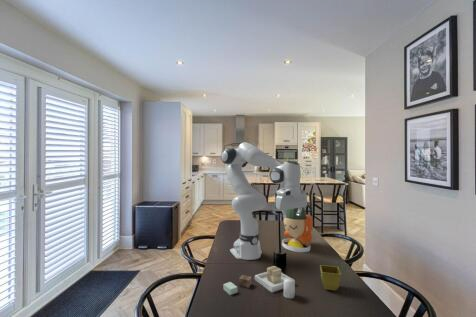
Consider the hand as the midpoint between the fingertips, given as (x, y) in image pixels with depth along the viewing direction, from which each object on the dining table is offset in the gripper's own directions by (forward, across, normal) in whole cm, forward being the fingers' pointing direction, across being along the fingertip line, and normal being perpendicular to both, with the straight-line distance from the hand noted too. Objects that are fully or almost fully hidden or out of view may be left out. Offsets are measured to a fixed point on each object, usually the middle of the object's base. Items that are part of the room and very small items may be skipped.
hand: (292, 216), depth 135 cm
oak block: (+30, +14, +2) cm, 33 cm away
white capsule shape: (+31, +16, +15) cm, 38 cm away
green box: (+31, +37, -2) cm, 49 cm away
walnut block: (+31, +28, -3) cm, 42 cm away
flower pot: (+31, -6, +20) cm, 38 cm away
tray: (+31, +14, +2) cm, 34 cm away
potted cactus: (+31, -34, -29) cm, 54 cm away
